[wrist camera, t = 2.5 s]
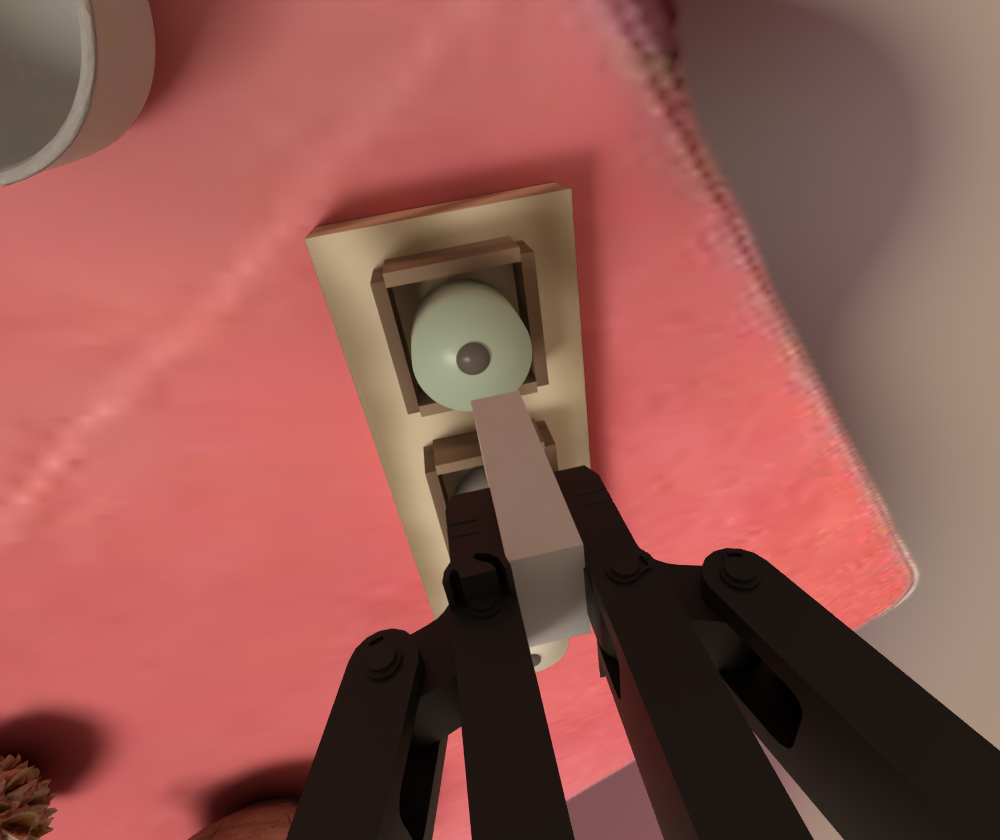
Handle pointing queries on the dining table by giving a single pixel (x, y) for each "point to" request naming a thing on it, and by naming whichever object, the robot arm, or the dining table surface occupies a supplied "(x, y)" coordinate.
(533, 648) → the button two
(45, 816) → the pine cone
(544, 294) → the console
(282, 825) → the cooking pot
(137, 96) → the teacup
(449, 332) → the button one
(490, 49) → the dining table surface
